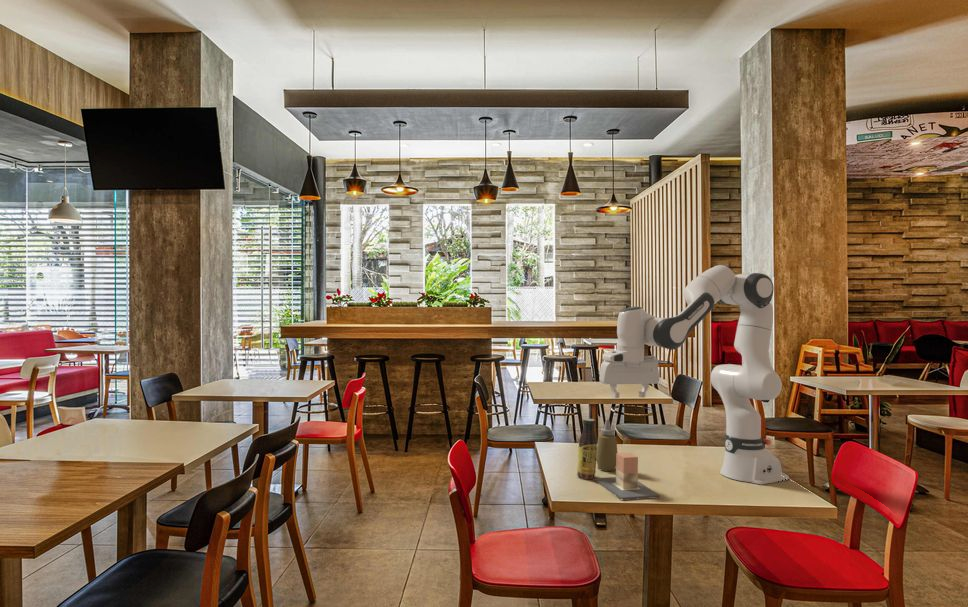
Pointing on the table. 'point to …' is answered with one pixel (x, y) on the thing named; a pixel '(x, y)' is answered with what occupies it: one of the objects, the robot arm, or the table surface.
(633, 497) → the board
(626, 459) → the terracotta block
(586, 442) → the sauce bottle
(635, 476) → the birch block
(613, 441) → the squeeze bottle
